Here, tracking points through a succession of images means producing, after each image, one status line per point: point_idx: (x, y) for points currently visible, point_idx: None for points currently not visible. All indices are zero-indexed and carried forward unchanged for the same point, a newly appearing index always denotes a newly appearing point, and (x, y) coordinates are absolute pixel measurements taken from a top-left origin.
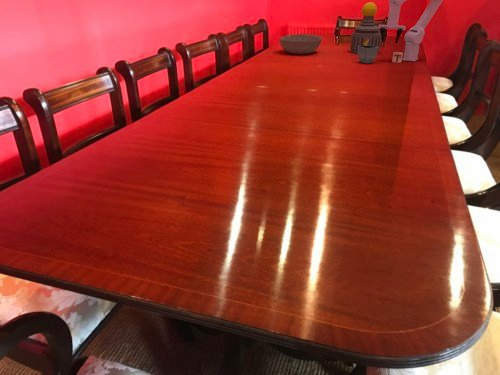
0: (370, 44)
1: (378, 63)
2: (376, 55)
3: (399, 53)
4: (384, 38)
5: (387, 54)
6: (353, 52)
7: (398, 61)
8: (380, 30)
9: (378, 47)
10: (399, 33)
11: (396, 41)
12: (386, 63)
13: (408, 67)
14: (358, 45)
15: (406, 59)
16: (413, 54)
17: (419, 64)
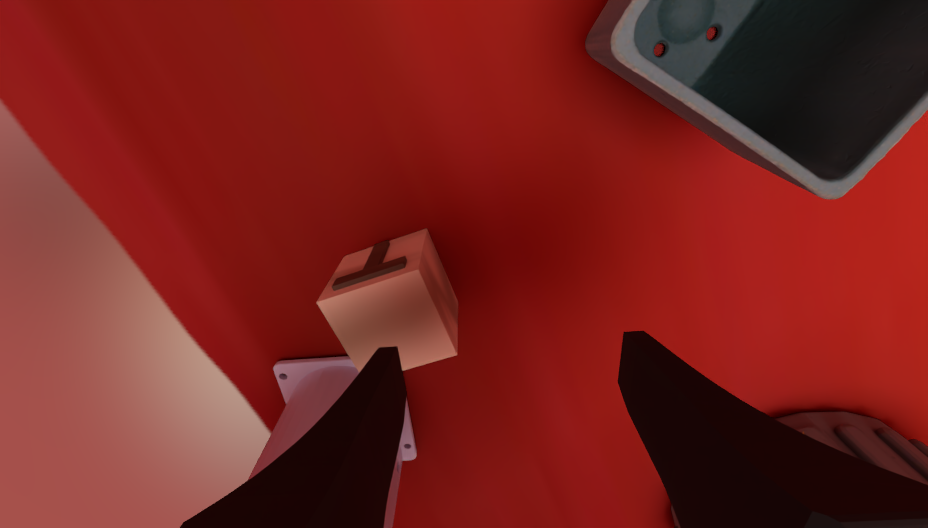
0: None
1: (527, 61)
2: (589, 33)
3: (357, 302)
4: (641, 430)
5: (586, 498)
6: (885, 424)
7: (368, 252)
8: (925, 498)
9: (617, 20)
10: (244, 491)
11: (368, 362)
12: (447, 121)
13: (129, 27)
14: (912, 477)
15: (351, 367)
16: (284, 416)
17: (166, 265)
